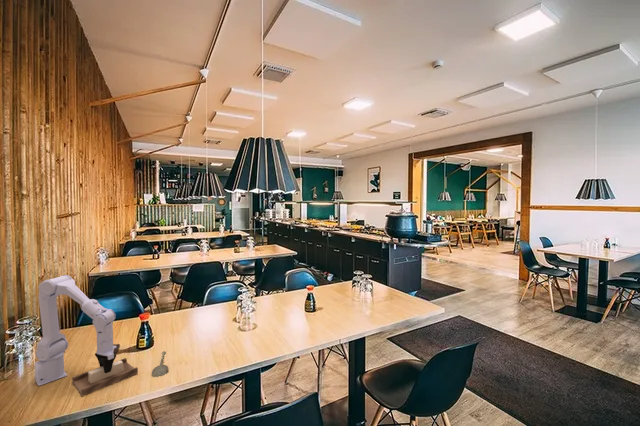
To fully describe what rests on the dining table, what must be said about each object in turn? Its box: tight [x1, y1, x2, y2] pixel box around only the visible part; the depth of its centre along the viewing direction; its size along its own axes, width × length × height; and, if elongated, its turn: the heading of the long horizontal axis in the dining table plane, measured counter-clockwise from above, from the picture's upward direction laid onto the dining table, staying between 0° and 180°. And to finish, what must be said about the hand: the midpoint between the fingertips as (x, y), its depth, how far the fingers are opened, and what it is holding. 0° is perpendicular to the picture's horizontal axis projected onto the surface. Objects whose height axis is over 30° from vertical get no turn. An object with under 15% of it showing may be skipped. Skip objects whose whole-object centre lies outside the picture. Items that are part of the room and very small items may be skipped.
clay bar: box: [87, 359, 123, 384], centre depth 131 cm, size 12×3×4 cm, turn 141°
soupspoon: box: [151, 350, 169, 378], centre depth 142 cm, size 22×3×7 cm
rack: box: [71, 357, 139, 397], centre depth 131 cm, size 20×14×3 cm
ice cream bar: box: [113, 343, 121, 355], centre depth 153 cm, size 5×2×15 cm
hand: (105, 370), depth 131 cm, fingers open, 4 cm apart
